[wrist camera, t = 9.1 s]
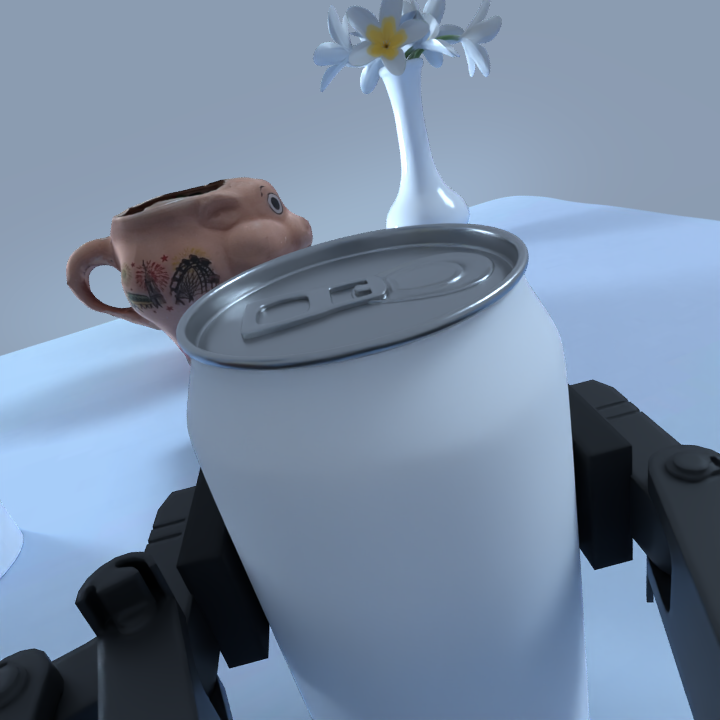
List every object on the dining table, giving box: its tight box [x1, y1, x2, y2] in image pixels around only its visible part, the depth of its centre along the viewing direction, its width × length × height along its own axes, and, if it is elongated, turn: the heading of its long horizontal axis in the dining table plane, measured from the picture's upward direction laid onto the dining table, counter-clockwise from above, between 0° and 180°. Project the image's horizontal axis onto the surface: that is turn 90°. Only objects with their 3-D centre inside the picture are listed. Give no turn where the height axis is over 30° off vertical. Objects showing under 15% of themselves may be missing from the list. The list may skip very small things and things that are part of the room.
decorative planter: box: [66, 178, 313, 366], centre depth 44 cm, size 20×12×14 cm, turn 100°
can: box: [176, 223, 589, 720], centre depth 11 cm, size 6×6×12 cm
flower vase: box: [313, 0, 502, 229], centre depth 56 cm, size 13×18×25 cm
